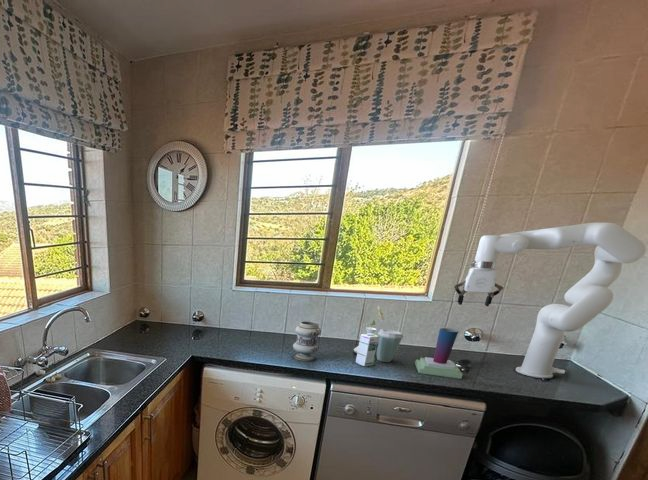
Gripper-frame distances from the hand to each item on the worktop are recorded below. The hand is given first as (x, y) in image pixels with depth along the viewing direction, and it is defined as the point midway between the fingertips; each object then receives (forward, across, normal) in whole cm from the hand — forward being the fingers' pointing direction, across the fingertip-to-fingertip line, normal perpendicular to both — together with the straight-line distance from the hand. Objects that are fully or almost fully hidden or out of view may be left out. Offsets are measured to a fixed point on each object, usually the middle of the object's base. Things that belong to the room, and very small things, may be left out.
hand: (473, 305), depth 178 cm
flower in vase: (+29, -38, +3) cm, 48 cm away
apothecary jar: (+28, -66, -17) cm, 74 cm away
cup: (+25, -9, -10) cm, 28 cm away
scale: (+29, -9, -10) cm, 32 cm away
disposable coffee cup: (+29, -30, -3) cm, 42 cm away
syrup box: (+29, -39, -14) cm, 50 cm away
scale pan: (+27, -9, -9) cm, 30 cm away
